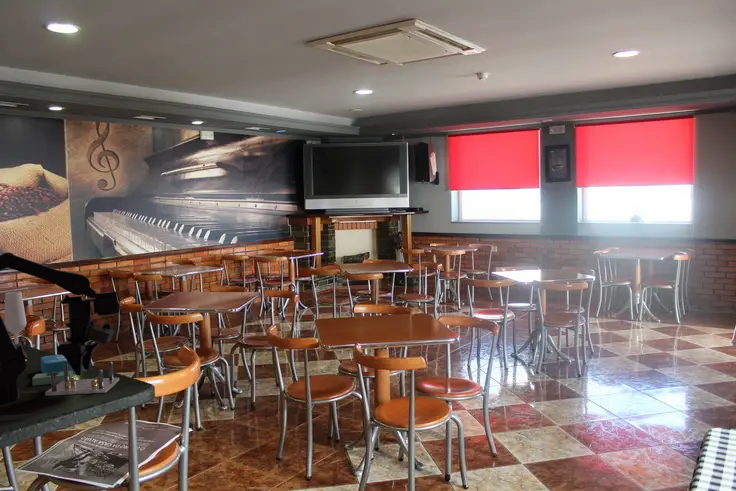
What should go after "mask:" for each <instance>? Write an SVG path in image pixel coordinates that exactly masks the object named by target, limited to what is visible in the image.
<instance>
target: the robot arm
mask: <svg viewBox="0 0 736 491" xmlns="http://www.w3.org/2000/svg"><path fill="white" fill-rule="evenodd" d="M5 269H11V270H13V271H17V272H20V273H23V274H25V275H29V276H32V277H35V278H38V279H41V280H44V281H47V282H50V283H53V285H56V286H58V287H59V288H61V289H63V290H65V291H66V292H68V293H71V294H73V295H74V296H69V295H68V294H67V293H66V294H65V295H64V297H63V298H61V299H60V301H59V303H60V304H61V305H67V312H68V313H67V314H68V322H66V324H65V325H66V328H68V330H69V333H68V334H69V337H67V338H66V341H64V342H62V343H60V344H59V345H58V346H57V347H56V355H63V356H64V357H65V358H66V360H67V361H68V362H69V364H70V366H71V367H72V369H73V370H74V372H75V373H74V374H75V375H76V376H81V375H82V372H81V370H82V365H83V367H84V369H85V370H86V371H88V370H89V369H90V367H91V362H92V357H93V353H94V350H95V349H96V348H97V347H98V346H100V343H101V344H105V345H106V344H108V342H111V340H112V337H113V335H114V334H115V332H114V330H115V329H113V324H112V323H108V322H107V323H105V324H103V326H102V325H97V324H96V323H95V320H94V319H92V314H91V310H92V313H93V314H96V315H97V317H102V316H103V317H104V316H114V315H119V314H120V302H119V297H118V292H117V291H115V290H112V291H108V292H107V291H106V292H104V291H103V292H96V290H94V289H93V288H92V287H91V282H90V280H89V278H88V277H87V276H85V275H84V274H82V273H78V272H74V271H73V272H72V271H68V270H60V269H56V268H53V267H50V266H47V265H44V264H42V263H39V262H36V261H33V260H30V259H28V258H24V257H21V256H18V255H15V254H14V253H12V252H8V251H7V252H3V253H2V254H0V271H2V270H5ZM82 295H83V296H85V297H86V298H82ZM91 303H92V304H91ZM91 307H92V308H91ZM10 334H11V333H10V332H9V331H8V330H7V328H6V326H5V323H4V319H3V316H2V314H1V313H0V405H3V404H10V403H13V402H16V401H18V400H20V386H19V384H20V383H19V375H21V374H22V373H23V372H24V371H25V369H26V367H27V361H26V360H28V354H27V352H25V350H24V349H23V348H24V347H23V344H22V341H18V344H15V342H14V340H13V339H12V337H11V335H10ZM96 341H97V342H96Z"/></svg>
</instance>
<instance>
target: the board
mask: <svg viewBox="0 0 736 491" xmlns="http://www.w3.org/2000/svg"><path fill="white" fill-rule="evenodd" d="M68 374H69V380H70V378H72V377H73V378H74V374H73V371H68ZM31 378H32V381H31V382H32V386H33V387H35V386H44V385H51V373H36V374H35V375H34V376H33V377H31ZM63 380H64V371H63V372H56V384H58V383H60V382H61V381H63Z"/></svg>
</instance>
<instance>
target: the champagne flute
mask: <svg viewBox="0 0 736 491" xmlns="http://www.w3.org/2000/svg"><path fill="white" fill-rule="evenodd" d="M23 299H24V298H23V293H22V291H9V292H5V295H4V317H3V318H4V319H3V321H4V323H5V326H6V328H7V330H8V332H9V334H13V338H14V340H13V341H14V342H15V344H18V343H19V334H21V333H22V331H23V330H24V329H25V328H26V326H27V324H28V323H27V318H26V310H25V306H24V300H23ZM27 360H28V359H27ZM27 360H26V362H27Z"/></svg>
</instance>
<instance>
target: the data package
mask: <svg viewBox="0 0 736 491" xmlns="http://www.w3.org/2000/svg"><path fill="white" fill-rule="evenodd" d="M39 361H40V372H41V374H43V373H51V372H63V371H64V367H63V365H64V364H68V371H73V373H74V370H73V369H72V367H71V366H70V364H69V362H68V361H67V360H66V358H65V357H64V356H63V355H57V354H52V355H45V356H41V357H40V360H39ZM82 371H84V372H86V371H87V370H85V369H84V367H83V365H82V370H81V373H83V372H82ZM74 374H75V373H74Z"/></svg>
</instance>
